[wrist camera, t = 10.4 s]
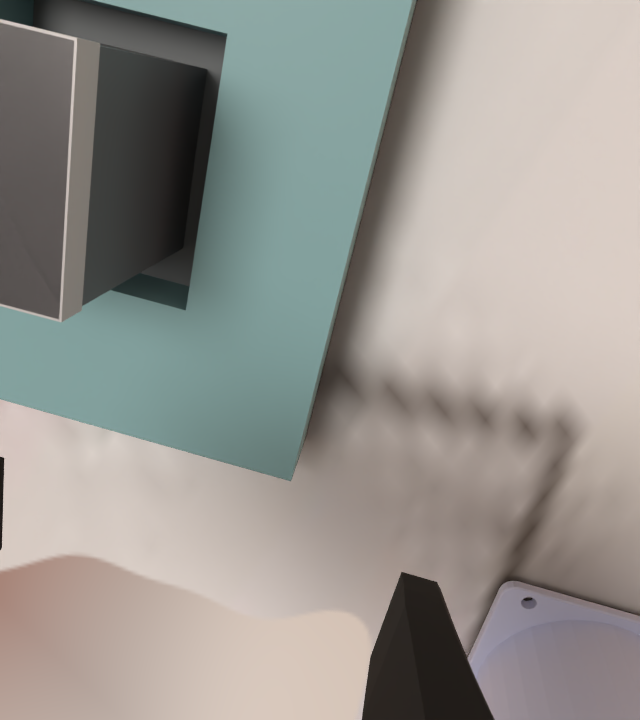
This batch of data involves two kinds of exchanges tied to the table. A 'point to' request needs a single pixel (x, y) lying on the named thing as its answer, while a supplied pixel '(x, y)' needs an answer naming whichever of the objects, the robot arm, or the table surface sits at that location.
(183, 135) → the plug
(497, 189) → the table surface
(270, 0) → the outlet block
